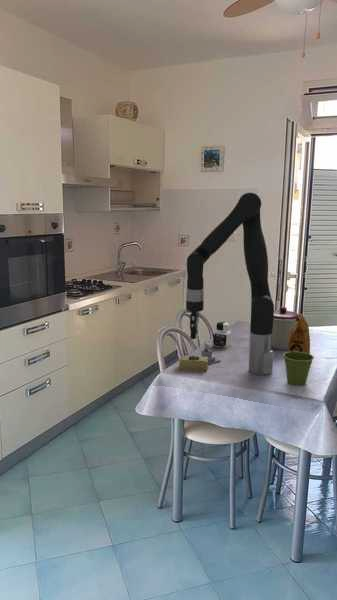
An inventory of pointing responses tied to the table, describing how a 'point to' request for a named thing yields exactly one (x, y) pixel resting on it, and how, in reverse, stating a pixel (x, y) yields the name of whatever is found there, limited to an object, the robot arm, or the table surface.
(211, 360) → the hub
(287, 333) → the canister
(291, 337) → the coffee package
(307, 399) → the table surface
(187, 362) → the yellow oblong bowl
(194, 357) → the stand rod
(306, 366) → the plant pot
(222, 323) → the medicine bottle
